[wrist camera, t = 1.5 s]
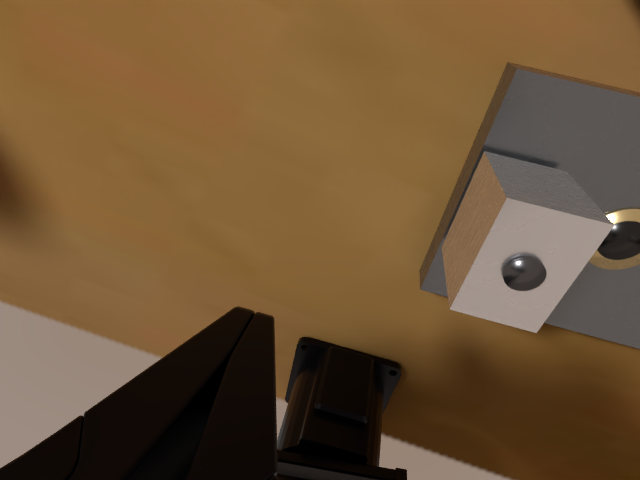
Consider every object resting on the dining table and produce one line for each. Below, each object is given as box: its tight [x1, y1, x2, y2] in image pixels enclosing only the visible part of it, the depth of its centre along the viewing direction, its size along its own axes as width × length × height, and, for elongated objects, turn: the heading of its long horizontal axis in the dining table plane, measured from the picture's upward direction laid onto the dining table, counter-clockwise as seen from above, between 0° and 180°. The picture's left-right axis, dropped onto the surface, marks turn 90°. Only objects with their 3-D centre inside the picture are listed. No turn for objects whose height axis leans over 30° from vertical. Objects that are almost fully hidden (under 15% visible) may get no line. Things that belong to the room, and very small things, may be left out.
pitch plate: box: [420, 63, 640, 349], centre depth 15 cm, size 10×13×5 cm
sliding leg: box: [442, 151, 614, 333], centre depth 14 cm, size 4×3×4 cm
